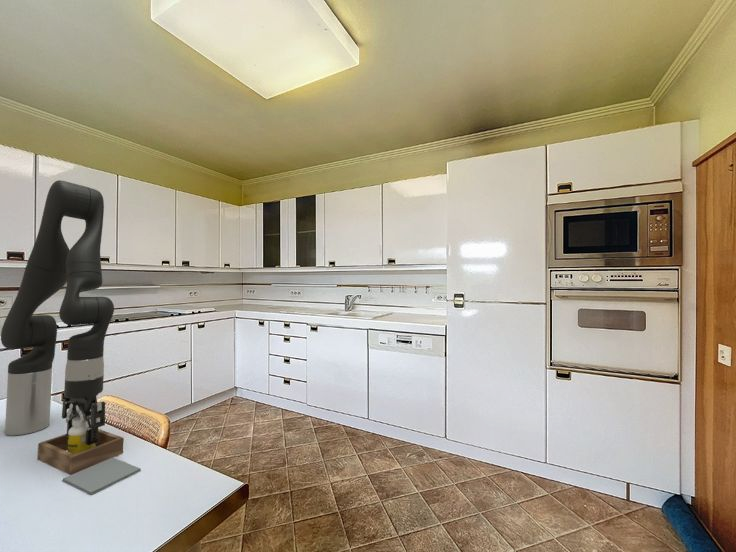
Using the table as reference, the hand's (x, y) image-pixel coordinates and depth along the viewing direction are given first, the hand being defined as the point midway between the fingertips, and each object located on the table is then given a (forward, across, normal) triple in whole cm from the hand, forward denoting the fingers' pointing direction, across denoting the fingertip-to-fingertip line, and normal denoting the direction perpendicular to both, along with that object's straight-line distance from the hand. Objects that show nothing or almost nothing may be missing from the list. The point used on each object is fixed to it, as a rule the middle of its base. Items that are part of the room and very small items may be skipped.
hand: (82, 439), depth 84 cm
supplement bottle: (+4, 0, 0) cm, 4 cm away
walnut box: (+4, 0, 0) cm, 4 cm away
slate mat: (+4, +14, -2) cm, 15 cm away
